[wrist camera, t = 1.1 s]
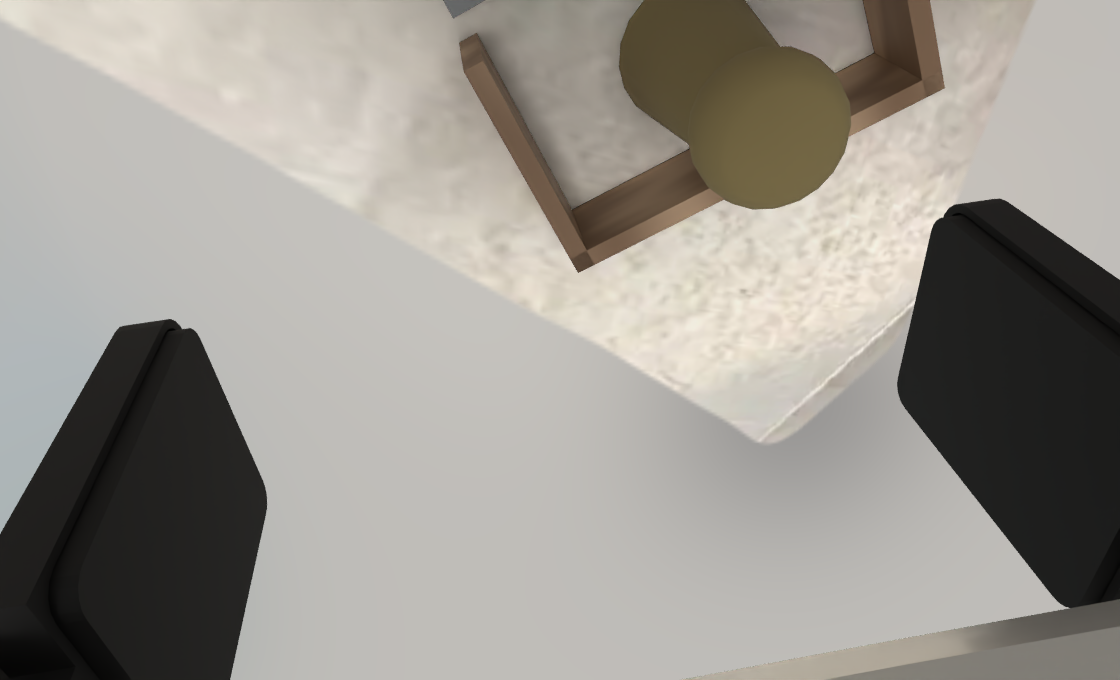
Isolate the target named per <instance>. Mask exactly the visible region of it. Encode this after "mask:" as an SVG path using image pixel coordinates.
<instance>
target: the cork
mask: <svg viewBox="0 0 1120 680" xmlns="http://www.w3.org/2000/svg"><path fill="white" fill-rule="evenodd" d="M619 68H620V72H621V76H622V81H623V85H624V88H625V90H626V91H627V93H628V94H629V96H630V98H631V99H632V101H633V102H634V104H635V105H636V106H637V107H638V108H640V109H641V110H642V111H644V112H645V113H646V114H648V115H649V116H650V117H652V118H653V119H654V120H656V121H657V122H659V123H660V124H661V125H663V126H664V127H666V128H667V129H668V130H670V131H671V132H673V133H674V134H675V135H677V136H678V137H680V138H681V139H682V140H684V141H685V142H687V143H688V144H689V148H690V153H691V157H692V162H693V164H694V166H695V168H696V169H697V171H698V172H699V174H700V176H701V177H702V179H703V180H704V182H705V183H706V185H707V186H708V188H710V189H711V190H712V191H714V192H715V193H716V194H718V195H719V196H720V197H722V198H723V199H724V200H726V201H728V202H730V203H732V204H735V205H739V206H742V207H746V208H749V209H773V208H778V207H782V206H785V205H787V204H790V203H793V202H796V201H799V200H801V199H803V198H804V197H806V196H807V195H809V194H810V193H812V192H813V191H815V190H817V189H818V188H819V187H820V186H821V185H822V184H823V183H824V182H825V181H826V180H827V179H828V177H829V176H830V175H831V174H832V173H833V172H834V170H835V169H836V167H837V165H838V163H839V161H840V160H841V158H842V156H843V154H844V152H845V149H846V145H847V141H848V136H849V132H850V128H851V114H850V102H849V100H848V98H847V95H846V93H845V91H844V89H843V87H842V84H841V82H840V80H839V78H838V76H837V75H836V74H835V73H834V72H833V71H832V70H831V69H830V68H829V67H828V66H827V65H826V64H825V63H824V62H822V61H821V60H820V59H819V58H817V57H815V56H814V55H812V54H809V53H807V52H804V51H801V50H798V49H796V48H793V47H780V46H779V45H778V43H777V42H776V41H775V39H774V38H773V37H772V35H771V34H770V33H769V31H768V30H767V29H766V28H765V26H764V25H763V24H762V22H761V21H760V20H759V18H758V17H757V16H756V14H755V13H754V12H753V11H752V9H751V8H750V7H749V5H748V4H747V3H746V1H745V0H644V1H643V3H642V4H641V5H640V7H639V8H638V9H637V11H636V12H635V13H634V15H633V16H632V18H631V19H630V20H629V22H628V25H627V28H626V31H625V33H624V36H623V39H622V41H621V46H620V61H619Z"/></svg>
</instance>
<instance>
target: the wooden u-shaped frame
mask: <svg viewBox="0 0 1120 680" xmlns="http://www.w3.org/2000/svg"><path fill="white" fill-rule="evenodd" d="M863 3H864V8H865V12H866V17H867V21H868V26H869V30H870V35H871V39H872V43H873V48H874V52H875V53H874V54H872V55H870V56H868V57H866V58H864V59H862V60H860V61H859V62H857V63H855V64H853V65H851V66H849V67H847V68H845V69H843V70H841V71H839V72H837V73H835V74H836V75H837V76H838V78H839V80H840V82H841V84H842V87H843V89H844V91H845V93H846V95H847V98H848V100H849V102H850V114H851V128H850V132H849V136H851V135H853V134H855V133H857V132H859V131H861V130H863V129H865V128H867V127H869V126H871V125H873V124H875V123H877V122H879V121H881V120H883V119H885V118H887V117H889V116H890V115H892V114H894V113H896V112H898V111H900V110H902V109H904V108H906V107H908V106H910V105H912V104H914V103H916V102H918V101H920V100H922V99H924V98H926V97H928V96H930V95H932V94H934V93H936V92H938V91H940V90H942V89H944V88H945V87H944V81H943V75H942V69H941V63H940V57H939V52H938V46H937V40H936V34H935V28H934V22H933V17H932V11H931V5H930V0H863ZM459 44H460V51H461V57H462V63H463V70H464V73H465V75H466V76H467V78H468V80H469V82H470V83H471V85H472V87H473V89H474V90H475V92H476V94H477V96H478V97H479V99H480V101H481V103H482V104H483V106H484V108H485V110H486V112H487V113H488V115H489V117H490V119H491V120H492V122H493V124H494V126H495V127H496V129H497V131H498V133H499V134H500V136H501V138H502V140H503V141H504V143H505V145H506V147H507V148H508V150H509V152H510V154H511V156H512V157H513V159H514V161H515V163H516V164H517V166H518V168H519V170H520V171H521V173H522V175H523V177H524V178H525V180H526V182H527V184H528V185H529V187H530V189H531V191H532V193H533V194H534V196H535V198H536V200H537V201H538V203H539V205H540V207H541V208H542V210H543V212H544V214H545V215H546V217H547V219H548V221H549V222H550V224H551V226H552V228H553V230H554V231H555V233H556V235H557V237H558V238H559V240H560V242H561V244H562V245H563V247H564V249H565V251H566V252H567V254H568V256H569V258H570V259H571V261H572V263H573V265H574V267H575V268H576V270H577V272H578V273H579V272H581V271H583V270H585V269H587V268H589V267H591V266H593V265H595V264H597V263H599V262H601V261H603V260H605V259H607V258H609V257H611V256H613V255H615V254H617V253H619V252H621V251H623V250H625V249H627V248H629V247H631V246H633V245H635V244H637V243H638V242H640V241H642V240H644V239H646V238H648V237H650V236H652V235H654V234H656V233H658V232H660V231H662V230H664V229H666V228H668V227H670V226H672V225H674V224H676V223H678V222H680V221H682V220H684V219H686V218H688V217H690V216H692V215H694V214H696V213H698V212H700V211H702V210H704V209H706V208H708V207H710V206H712V205H714V204H716V203H718V202H720V201H722V200H724V199H723V198H722V197H720V196H719V195H718V194H716V193H715V192H714V191H712V190H711V189H710V188H708V186H707V185H706V183H705V182H704V180H703V179H702V177H701V176H700V174H699V172H698V171H697V169H696V168H695V166H694V164H693V162H692V157H691V153H690V149H689V150H687V151H685V152H683V153H681V154H679V155H677V156H675V157H673V158H671V159H669V160H667V161H666V162H664V163H662V164H660V165H658V166H656V167H654V168H652V169H650V170H648V171H646V172H644V173H642V174H640V175H639V176H637V177H635V178H633V179H631V180H629V181H627V182H625V183H623V184H621V185H619V186H617V187H615V188H613V189H612V190H610V191H608V192H606V193H604V194H602V195H600V196H598V197H596V198H594V199H592V200H590V201H588V202H586V203H585V204H583V205H581V206H579V207H577V208H575V209H573V210H572V209H571V207H570V205H569V203H568V202H567V200H566V198H565V196H564V194H563V192H562V191H561V189H560V187H559V185H558V183H557V181H556V179H555V178H554V176H553V174H552V172H551V170H550V168H549V166H548V165H547V163H546V161H545V159H544V157H543V155H542V153H541V152H540V150H539V148H538V146H537V144H536V142H535V141H534V139H533V137H532V135H531V133H530V131H529V129H528V128H527V126H526V124H525V122H524V120H523V118H522V116H521V115H520V113H519V111H518V109H517V107H516V105H515V103H514V102H513V100H512V98H511V96H510V94H509V92H508V91H507V89H506V87H505V85H504V83H503V81H502V79H501V78H500V76H499V74H498V72H497V70H496V68H495V66H494V65H493V63H492V61H491V59H490V57H489V55H488V53H487V52H486V50H485V48H484V46H483V44H482V42H481V41H480V39H479V37H478V35H477V33H476V34H474V35H472V36H471V37H469V38H467V39H465V40H464V41H462V42H460V43H459ZM849 136H848V137H849Z"/></svg>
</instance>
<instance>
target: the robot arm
mask: <svg viewBox="0 0 1120 680" xmlns="http://www.w3.org/2000/svg"><path fill="white" fill-rule="evenodd" d="M897 387H898V394H899V397H900V400H901V402H902V404H903V406H904V407H905V409H906V410H907V411H908V413H909V414H910V415H911V416H912V418H913V419H914V420H915V422H916V423H917V424H918V425H919V427H920V428H921V429H922V430H923V432H924V433H925V434H926V436H927V437H928V438H929V439H930V440H931V442H932V443H933V444H934V446H935V447H936V448H937V450H938V451H939V452H940V453H941V455H942V456H943V457H944V458H945V460H946V461H947V462H948V464H949V465H950V466H951V467H952V469H953V470H954V471H955V472H956V474H957V475H958V476H959V477H960V478H961V480H962V481H963V483H964V484H965V485H966V486H967V488H968V489H969V490H970V491H971V493H972V494H973V495H974V496H975V498H976V499H977V500H978V502H979V503H980V504H981V506H982V507H983V508H984V509H985V510H986V512H987V513H988V514H989V516H990V517H991V518H992V519H993V521H994V522H995V523H996V525H997V526H998V527H999V528H1000V530H1001V531H1002V532H1003V533H1004V535H1005V536H1006V537H1007V539H1008V540H1009V541H1010V542H1011V544H1012V545H1013V546H1014V548H1015V549H1016V550H1017V551H1018V553H1019V554H1020V555H1021V556H1022V558H1023V559H1024V560H1025V562H1026V563H1027V564H1028V565H1029V567H1030V568H1031V569H1032V570H1033V572H1034V573H1035V574H1036V576H1037V577H1038V578H1039V579H1040V580H1041V582H1042V583H1043V584H1044V586H1045V587H1046V588H1047V590H1048V591H1049V592H1050V593H1051V595H1052V596H1053V597H1054V598H1055V599H1056V600H1057V601H1058V602H1059V603H1060V604H1062V605H1064V606H1065V607H1069V608H1070V609H1064V610H1058V611H1053V612H1047V613H1042V614H1037V615H1031V616H1026V617H1020V618H1015V619H1009V620H1003V621H998V622H992V623H987V624H981V625H975V626H970V627H964V628H959V629H954V630H948V631H942V632H937V633H932V634H925V635H920V636H915V637H909V638H904V639H898V640H893V641H887V642H883V643H877V644H871V645H866V646H861V647H855V648H849V649H844V650H839V651H833V652H828V653H823V654H818V655H812V656H806V657H801V658H796V659H790V660H785V661H779V662H774V663H768V664H763V665H758V666H753V667H747V668H742V669H736V670H731V671H726V672H720V673H715V674H710V675H705V676H699V677H694V678H689V679H683V680H1120V280H1119V279H1118V278H1116V277H1115V276H1113V275H1112V274H1110V273H1109V272H1107V271H1106V270H1105V269H1103V268H1102V267H1100V266H1099V265H1097V264H1096V263H1095V262H1093V261H1092V260H1090V259H1089V258H1087V257H1086V256H1084V255H1083V254H1082V253H1080V252H1079V251H1077V250H1076V249H1074V248H1073V247H1072V246H1070V245H1069V244H1067V243H1066V242H1064V241H1063V240H1062V239H1060V238H1059V237H1057V236H1056V235H1054V234H1053V233H1052V232H1050V231H1049V230H1047V229H1046V228H1044V227H1043V226H1041V225H1040V224H1039V223H1037V222H1036V221H1034V220H1033V219H1031V218H1030V217H1029V216H1027V215H1026V214H1024V213H1023V212H1021V211H1020V210H1019V209H1017V208H1015V207H1014V206H1013V205H1011V204H1010V203H1009V202H1007V201H1005V200H1002V199H991V200H984V201H977V202H970V203H964V204H956V205H953V206H952V207H950V208H949V209H948V210H947V212H946V213H945V214H944V217H943V218H940V219H938V220H937V221H936V222H935V224H934V225H933V228H932V231H931V235H930V239H929V244H928V248H927V252H926V257H925V261H924V266H923V270H922V274H921V279H920V283H919V288H918V292H917V296H916V301H915V305H914V310H913V314H912V319H911V323H910V328H909V332H908V336H907V341H906V345H905V349H904V354H903V359H902V363H901V367H900V371H899V376H898V382H897ZM266 510H267V496H266V490H265V485H264V483H263V480H262V478H261V476H260V473H259V471H258V469H257V466H256V464H255V462H254V460H253V457H252V455H251V453H250V450H249V448H248V446H247V444H246V441H245V439H244V437H243V435H242V432H241V430H240V428H239V426H238V423H237V421H236V419H235V417H234V415H233V412H232V410H231V407H230V405H229V403H228V401H227V399H226V396H225V394H224V392H223V389H222V387H221V385H220V383H219V380H218V378H217V376H216V374H215V371H214V369H213V367H212V364H211V362H210V360H209V358H208V355H207V353H206V351H205V349H204V347H203V344H202V342H201V340H200V338H199V336H198V334H197V333H196V332H195V331H194V330H193V329H191V328H189V329H182V328H181V327H180V325H178V323H177V322H176V321H174V320H172V319H168V320H161V321H154V322H147V323H140V324H133V325H127V326H122V327H119V329H118V330H117V331H116V332H115V333H114V335H113V337H112V339H111V340H110V342H109V344H108V346H107V348H106V349H105V351H104V353H103V355H102V356H101V358H100V360H99V362H98V363H97V365H96V367H95V369H94V370H93V372H92V374H91V376H90V378H89V379H88V381H87V383H86V384H85V386H84V388H83V390H82V392H81V393H80V395H79V397H78V398H77V400H76V402H75V404H74V405H73V407H72V409H71V411H70V412H69V414H68V416H67V418H66V419H65V421H64V423H63V425H62V427H61V428H60V430H59V432H58V434H57V435H56V437H55V439H54V441H53V442H52V444H51V446H50V448H49V449H48V451H47V453H46V455H45V457H44V458H43V460H42V462H41V463H40V465H39V467H38V469H37V471H36V472H35V474H34V476H33V478H32V480H31V481H30V483H29V484H28V486H27V488H26V490H25V492H24V493H23V495H22V497H21V498H20V500H19V502H18V504H17V506H16V507H15V509H14V511H13V513H12V514H11V516H10V518H9V520H8V521H7V523H6V525H5V527H4V528H3V530H2V532H1V534H0V680H230V677H231V673H232V668H233V663H234V658H235V654H236V650H237V645H238V640H239V636H240V631H241V626H242V622H243V617H244V612H245V608H246V603H247V599H248V594H249V589H250V585H251V580H252V576H253V571H254V566H255V561H256V557H257V552H258V548H259V543H260V539H261V534H262V530H263V525H264V520H265V516H266Z"/></svg>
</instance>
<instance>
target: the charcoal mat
mask: <svg viewBox="0 0 1120 680" xmlns="http://www.w3.org/2000/svg"><path fill="white" fill-rule="evenodd" d="M443 1H444V2H445V4H446V6H447V8H448V10H449V12H450V13H451V15H452V17H453V18H455V17H457V16H458V15H460V14H462V13H464V12H465V11H467V10H469V9H471V8H472V7H474V6H476V5H478V4H479V3H481V2H483V1H485V0H443Z"/></svg>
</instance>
